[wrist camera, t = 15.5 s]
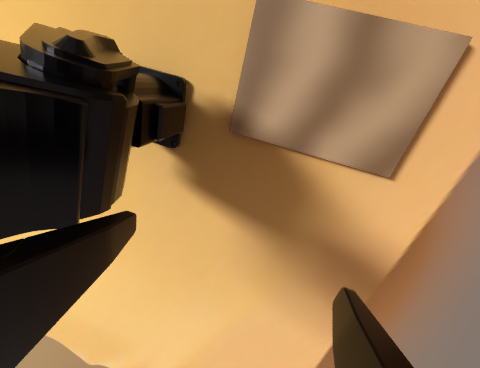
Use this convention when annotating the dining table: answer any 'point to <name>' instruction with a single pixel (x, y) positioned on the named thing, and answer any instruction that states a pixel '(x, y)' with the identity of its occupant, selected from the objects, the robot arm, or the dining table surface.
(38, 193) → the robot arm
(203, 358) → the dining table surface
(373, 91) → the oak pad
